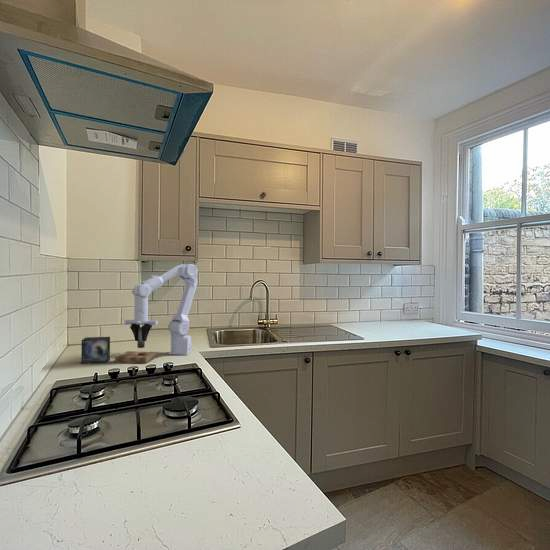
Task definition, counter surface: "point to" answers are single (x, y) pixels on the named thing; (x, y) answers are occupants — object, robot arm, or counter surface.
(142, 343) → the peg
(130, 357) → the hole block
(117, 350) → the counter surface
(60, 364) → the counter surface
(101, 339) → the small box
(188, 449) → the counter surface
